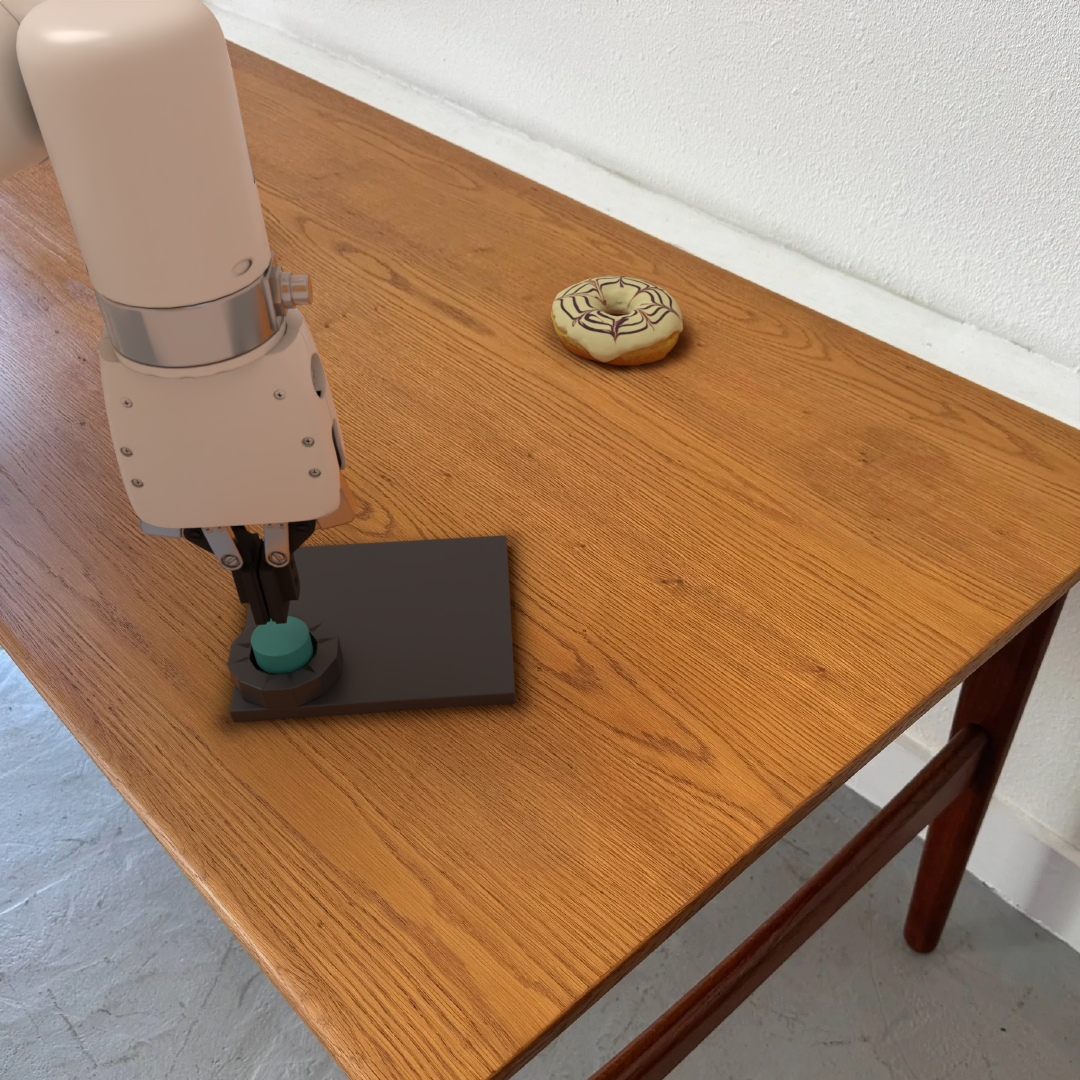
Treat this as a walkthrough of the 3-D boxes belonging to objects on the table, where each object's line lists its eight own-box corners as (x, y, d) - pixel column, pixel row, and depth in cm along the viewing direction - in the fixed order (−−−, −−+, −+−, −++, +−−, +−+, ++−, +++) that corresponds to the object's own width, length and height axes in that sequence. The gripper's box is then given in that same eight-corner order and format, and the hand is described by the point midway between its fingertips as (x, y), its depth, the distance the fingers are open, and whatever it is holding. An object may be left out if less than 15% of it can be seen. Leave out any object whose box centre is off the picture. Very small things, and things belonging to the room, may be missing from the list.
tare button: (253, 676, 65) (247, 657, 64) (259, 636, 67) (254, 617, 66) (310, 673, 65) (305, 654, 64) (315, 633, 67) (311, 614, 66)
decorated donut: (605, 389, 91) (605, 348, 88) (528, 333, 97) (526, 292, 94) (705, 347, 95) (708, 306, 93) (625, 295, 102) (626, 255, 99)
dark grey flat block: (233, 728, 65) (221, 693, 63) (262, 564, 76) (252, 529, 73) (516, 709, 67) (513, 674, 65) (507, 550, 77) (505, 515, 75)
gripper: (368, 257, 54) (413, 554, 67) (40, 272, 53) (148, 570, 66) (359, 341, 49) (409, 646, 61) (-7, 358, 47) (121, 666, 60)
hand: (274, 606), depth 63 cm, fingers closed
